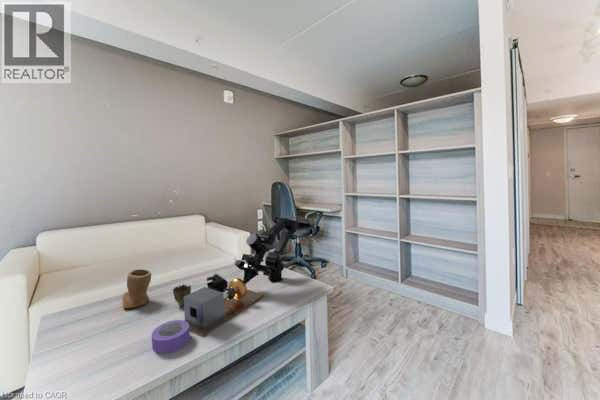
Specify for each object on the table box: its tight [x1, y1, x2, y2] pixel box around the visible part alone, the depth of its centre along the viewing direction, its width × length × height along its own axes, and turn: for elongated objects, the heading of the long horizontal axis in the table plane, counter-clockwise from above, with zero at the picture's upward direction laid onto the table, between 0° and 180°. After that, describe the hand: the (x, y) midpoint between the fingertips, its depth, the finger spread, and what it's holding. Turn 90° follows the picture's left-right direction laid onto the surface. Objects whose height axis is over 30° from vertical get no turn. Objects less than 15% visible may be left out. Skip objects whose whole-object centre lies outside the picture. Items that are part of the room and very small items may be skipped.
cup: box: [172, 284, 192, 307], centre depth 116 cm, size 8×7×8 cm
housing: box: [183, 286, 265, 338], centre depth 111 cm, size 36×14×12 cm, turn 150°
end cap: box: [206, 273, 229, 292], centre depth 131 cm, size 10×7×7 cm
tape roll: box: [151, 319, 191, 355], centre depth 89 cm, size 12×12×5 cm
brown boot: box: [121, 268, 152, 309], centre depth 119 cm, size 15×12×15 cm
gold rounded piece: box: [223, 277, 248, 300], centre depth 111 cm, size 17×9×9 cm, turn 150°
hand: (244, 283), depth 121 cm, fingers closed
